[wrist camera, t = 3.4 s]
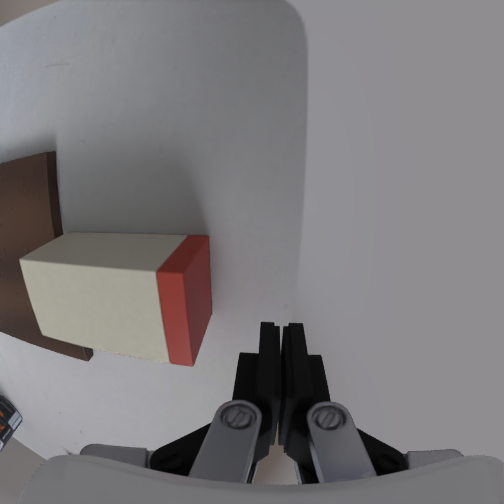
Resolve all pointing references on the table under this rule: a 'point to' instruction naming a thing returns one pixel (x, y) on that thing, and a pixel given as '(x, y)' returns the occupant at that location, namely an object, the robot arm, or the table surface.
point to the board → (28, 244)
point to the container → (123, 293)
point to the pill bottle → (7, 421)
